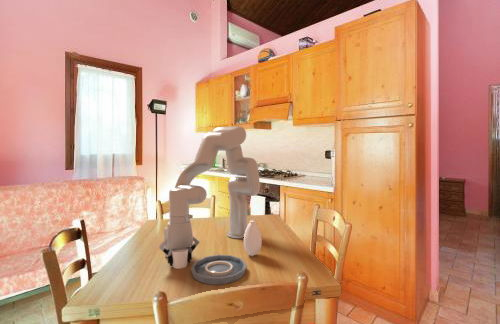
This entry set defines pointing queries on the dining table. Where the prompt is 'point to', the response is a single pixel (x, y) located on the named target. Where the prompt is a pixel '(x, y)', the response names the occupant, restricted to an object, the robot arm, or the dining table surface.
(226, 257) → the round tray
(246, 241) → the air blower bulb
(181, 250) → the pale cup
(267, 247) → the dining table surface
